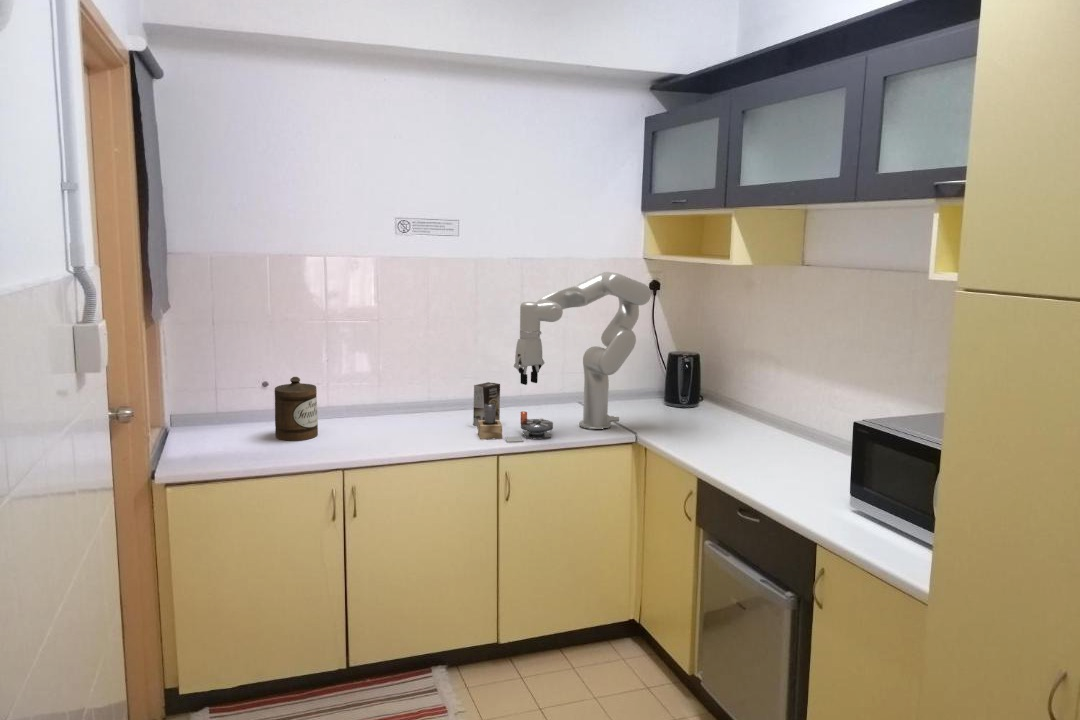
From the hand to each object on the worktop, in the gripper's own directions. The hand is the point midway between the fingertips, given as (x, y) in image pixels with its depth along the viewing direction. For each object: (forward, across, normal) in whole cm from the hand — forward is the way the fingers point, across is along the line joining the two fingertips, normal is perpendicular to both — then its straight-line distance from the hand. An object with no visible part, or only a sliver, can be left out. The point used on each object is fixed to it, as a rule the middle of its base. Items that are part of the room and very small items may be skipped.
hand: (528, 382), depth 295 cm
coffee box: (+20, +5, -19) cm, 28 cm away
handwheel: (+16, 0, +5) cm, 17 cm away
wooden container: (+20, +70, -48) cm, 87 cm away
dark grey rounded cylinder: (+19, +14, -5) cm, 25 cm away
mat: (+19, +11, +5) cm, 23 cm away
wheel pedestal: (+19, 0, +5) cm, 20 cm away
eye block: (+19, +14, -5) cm, 25 cm away
